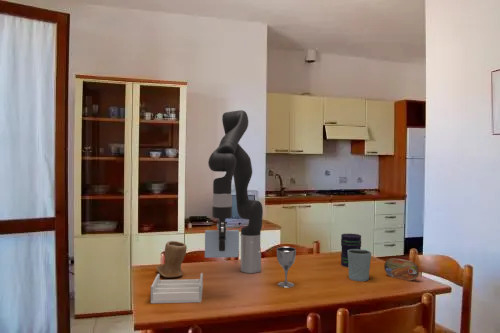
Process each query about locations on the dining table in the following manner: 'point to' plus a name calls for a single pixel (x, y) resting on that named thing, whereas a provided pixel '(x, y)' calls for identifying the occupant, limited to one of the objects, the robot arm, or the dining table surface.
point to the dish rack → (176, 290)
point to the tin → (401, 269)
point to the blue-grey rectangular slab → (213, 244)
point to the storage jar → (349, 246)
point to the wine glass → (286, 262)
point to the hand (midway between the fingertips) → (221, 249)
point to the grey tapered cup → (359, 264)
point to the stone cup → (173, 259)
